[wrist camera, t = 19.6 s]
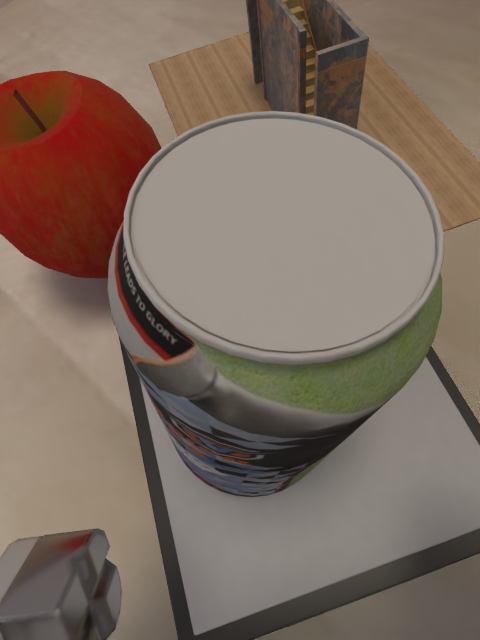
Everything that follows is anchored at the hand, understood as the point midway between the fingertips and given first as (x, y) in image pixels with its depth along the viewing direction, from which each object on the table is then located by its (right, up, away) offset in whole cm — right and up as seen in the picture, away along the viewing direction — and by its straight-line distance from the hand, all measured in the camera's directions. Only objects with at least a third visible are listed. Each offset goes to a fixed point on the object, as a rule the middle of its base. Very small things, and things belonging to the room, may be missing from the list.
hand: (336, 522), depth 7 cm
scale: (+1, -2, +12) cm, 12 cm away
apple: (-9, +7, +18) cm, 21 cm away
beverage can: (0, 0, +10) cm, 10 cm away
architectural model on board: (+2, +17, +22) cm, 28 cm away
